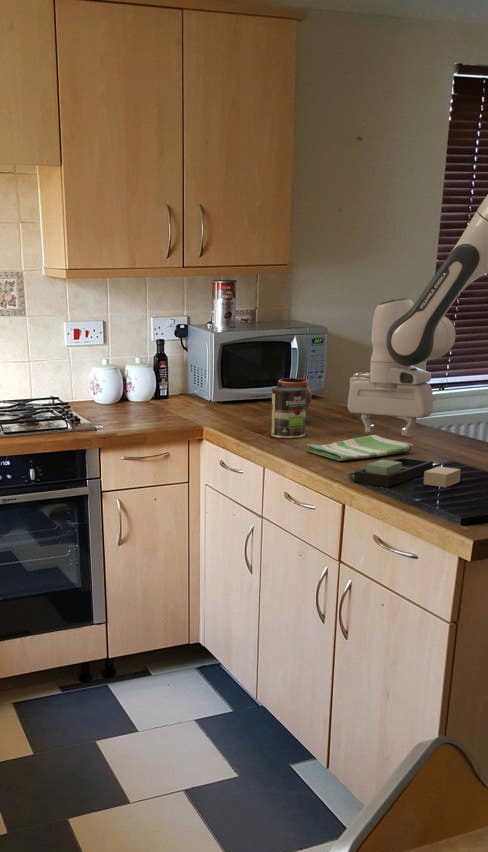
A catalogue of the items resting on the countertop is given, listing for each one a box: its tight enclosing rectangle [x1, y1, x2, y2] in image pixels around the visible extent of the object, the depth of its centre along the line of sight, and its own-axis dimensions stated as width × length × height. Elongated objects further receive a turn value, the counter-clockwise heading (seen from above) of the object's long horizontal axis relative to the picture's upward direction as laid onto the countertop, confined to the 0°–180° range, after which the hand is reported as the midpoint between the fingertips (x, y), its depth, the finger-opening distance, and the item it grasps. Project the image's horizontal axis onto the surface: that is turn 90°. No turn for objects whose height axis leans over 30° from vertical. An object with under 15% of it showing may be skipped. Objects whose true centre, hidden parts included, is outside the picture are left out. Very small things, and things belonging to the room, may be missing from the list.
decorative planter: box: [276, 377, 312, 417], centre depth 285 cm, size 20×12×14 cm, turn 10°
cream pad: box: [423, 465, 462, 489], centre depth 202 cm, size 6×7×3 cm
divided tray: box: [353, 456, 434, 488], centre depth 210 cm, size 9×21×2 cm, turn 136°
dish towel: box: [306, 434, 414, 462], centre depth 238 cm, size 18×23×3 cm
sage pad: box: [365, 459, 402, 475], centre depth 206 cm, size 6×7×3 cm
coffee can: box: [270, 386, 307, 439], centre depth 263 cm, size 10×10×14 cm
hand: (387, 434), depth 203 cm, fingers open, 8 cm apart
